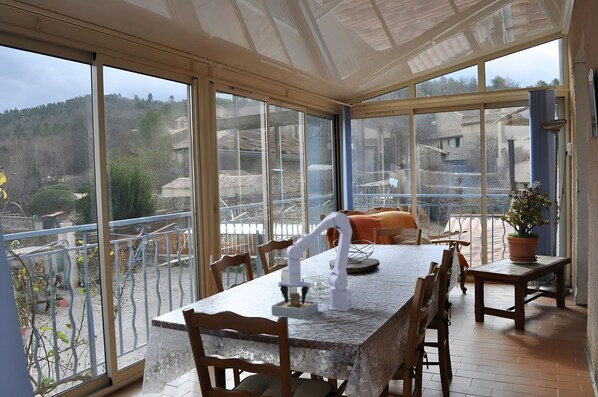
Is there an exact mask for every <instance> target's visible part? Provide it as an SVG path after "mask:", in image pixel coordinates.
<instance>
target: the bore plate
mask: <svg viewBox="0 0 598 397" xmlns="http://www.w3.org/2000/svg"><path fill="white" fill-rule="evenodd" d="M310 305H311V303H304V304H302V302H300V307H298V309H304V308H306V307H308V306H310ZM281 307H289V308H297V307H291V301H290V302H288V303H285V304H283V305H281Z"/></svg>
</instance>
